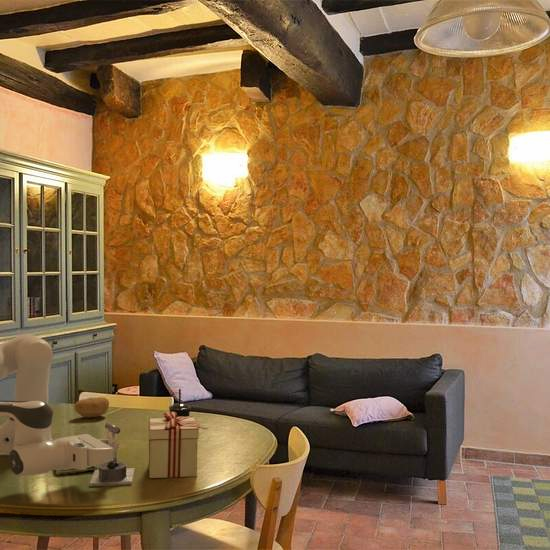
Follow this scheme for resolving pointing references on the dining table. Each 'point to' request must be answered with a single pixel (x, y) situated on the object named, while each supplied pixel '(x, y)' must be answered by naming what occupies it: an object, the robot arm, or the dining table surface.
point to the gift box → (173, 446)
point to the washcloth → (75, 470)
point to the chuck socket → (112, 475)
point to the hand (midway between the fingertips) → (115, 443)
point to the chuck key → (112, 438)
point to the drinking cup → (180, 408)
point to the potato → (92, 407)
